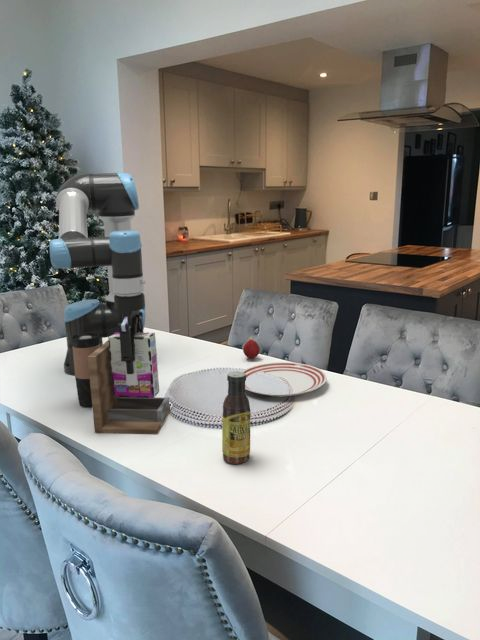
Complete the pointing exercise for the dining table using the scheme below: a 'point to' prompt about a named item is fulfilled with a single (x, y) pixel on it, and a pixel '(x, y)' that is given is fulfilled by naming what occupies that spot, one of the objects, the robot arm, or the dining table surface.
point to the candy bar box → (145, 367)
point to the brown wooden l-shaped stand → (121, 402)
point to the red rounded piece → (251, 349)
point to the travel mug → (84, 365)
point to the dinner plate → (291, 376)
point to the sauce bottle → (236, 420)
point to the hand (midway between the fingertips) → (135, 380)
